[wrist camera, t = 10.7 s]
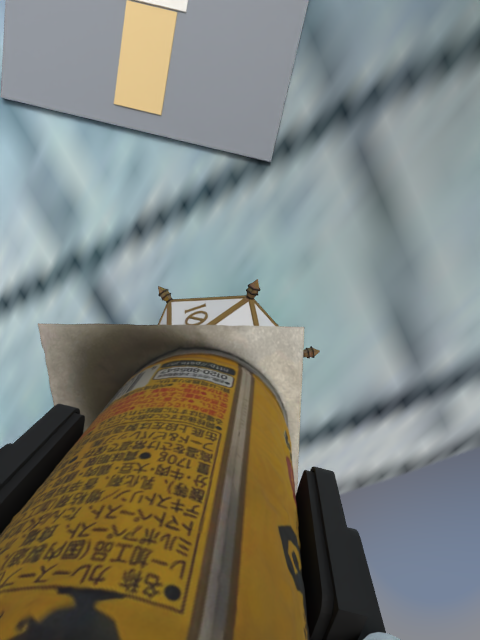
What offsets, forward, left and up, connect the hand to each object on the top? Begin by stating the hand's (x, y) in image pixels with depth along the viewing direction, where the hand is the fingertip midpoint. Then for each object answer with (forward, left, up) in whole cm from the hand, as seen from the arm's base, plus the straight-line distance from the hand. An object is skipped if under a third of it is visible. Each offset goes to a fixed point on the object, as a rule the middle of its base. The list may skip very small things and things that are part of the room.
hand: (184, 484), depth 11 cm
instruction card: (-15, -7, -12) cm, 21 cm away
